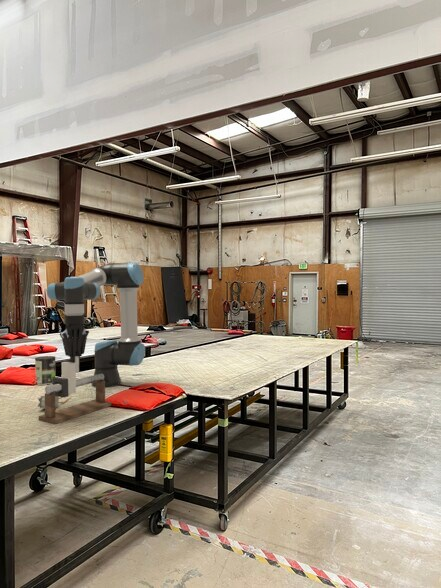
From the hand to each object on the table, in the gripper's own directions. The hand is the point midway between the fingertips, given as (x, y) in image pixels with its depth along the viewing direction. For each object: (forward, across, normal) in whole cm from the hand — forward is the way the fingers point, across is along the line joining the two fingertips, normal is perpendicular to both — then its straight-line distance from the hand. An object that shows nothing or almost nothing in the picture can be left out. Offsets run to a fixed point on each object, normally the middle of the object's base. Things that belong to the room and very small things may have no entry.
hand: (75, 372), depth 164 cm
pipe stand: (+17, -1, 0) cm, 17 cm away
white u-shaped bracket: (+8, +4, 0) cm, 9 cm away
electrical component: (+17, -5, -19) cm, 26 cm away
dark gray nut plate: (+8, +7, 0) cm, 11 cm away
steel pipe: (+6, -1, 0) cm, 6 cm away
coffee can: (+17, -29, -60) cm, 69 cm away
